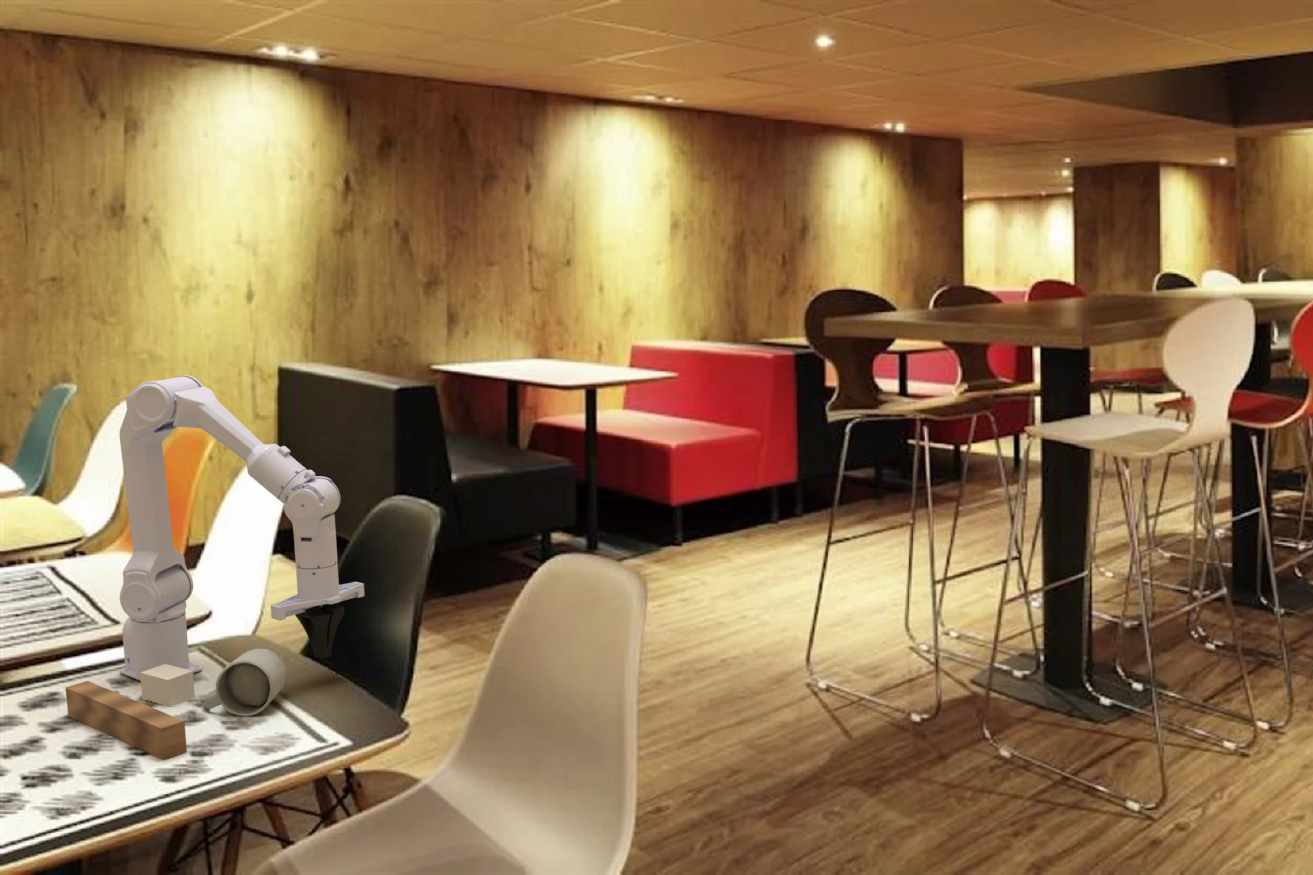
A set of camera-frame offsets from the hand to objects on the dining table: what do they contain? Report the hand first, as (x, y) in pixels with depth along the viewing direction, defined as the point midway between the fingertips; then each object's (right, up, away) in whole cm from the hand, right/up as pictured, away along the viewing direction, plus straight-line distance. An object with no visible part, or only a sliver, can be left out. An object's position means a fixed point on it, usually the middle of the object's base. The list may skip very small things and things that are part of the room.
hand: (322, 655), depth 168 cm
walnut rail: (-20, -7, -18) cm, 28 cm away
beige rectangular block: (-20, -5, -5) cm, 21 cm away
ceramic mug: (-8, -6, -9) cm, 13 cm away
